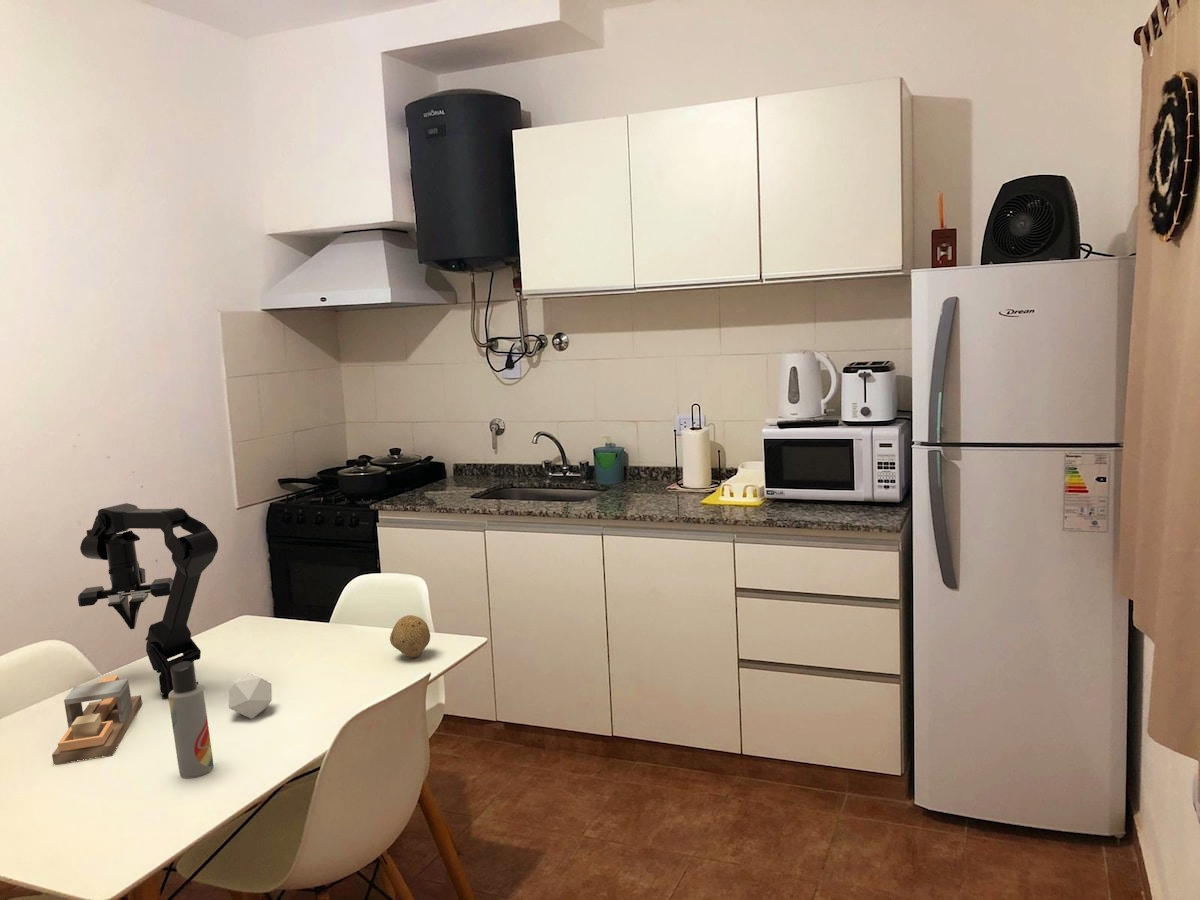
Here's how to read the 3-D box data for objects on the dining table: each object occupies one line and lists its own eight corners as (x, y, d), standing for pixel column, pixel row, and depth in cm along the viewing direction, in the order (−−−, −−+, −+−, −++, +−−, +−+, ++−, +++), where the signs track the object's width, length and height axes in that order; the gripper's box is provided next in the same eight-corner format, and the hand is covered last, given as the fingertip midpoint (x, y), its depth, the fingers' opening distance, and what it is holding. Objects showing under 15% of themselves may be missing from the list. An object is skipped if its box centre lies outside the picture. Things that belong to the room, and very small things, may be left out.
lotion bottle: (220, 764, 170) (206, 659, 167) (198, 780, 165) (182, 671, 162) (195, 761, 172) (180, 657, 169) (172, 776, 167) (156, 669, 164)
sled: (133, 696, 200) (130, 673, 199) (103, 744, 177) (99, 719, 176) (94, 701, 198) (90, 679, 197) (59, 751, 175) (54, 725, 174)
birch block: (103, 732, 183) (100, 713, 182) (97, 741, 179) (94, 721, 178) (80, 736, 182) (77, 716, 181) (74, 745, 178) (71, 725, 177)
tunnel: (142, 703, 201) (136, 666, 200) (112, 755, 177) (105, 712, 176) (91, 711, 199) (85, 673, 198) (53, 764, 175) (46, 721, 174)
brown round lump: (385, 663, 215) (381, 621, 213) (402, 649, 223) (398, 609, 222) (422, 664, 213) (418, 622, 211) (437, 650, 221) (433, 609, 220)
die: (282, 714, 192) (279, 669, 196) (252, 710, 185) (249, 663, 189) (251, 727, 194) (248, 681, 199) (220, 723, 187) (217, 676, 191)
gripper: (175, 547, 219) (184, 612, 221) (87, 557, 214) (97, 623, 217) (165, 559, 208) (174, 627, 210) (72, 570, 204) (83, 639, 206)
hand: (132, 628), depth 211 cm, fingers closed
